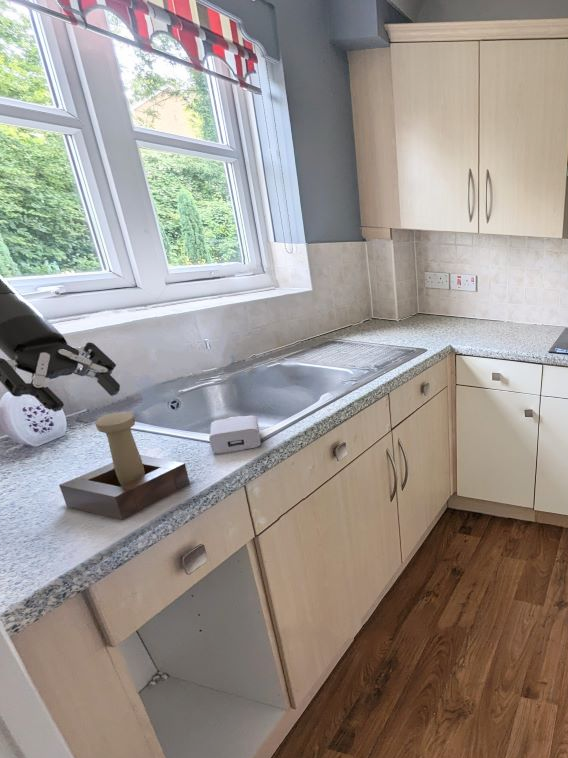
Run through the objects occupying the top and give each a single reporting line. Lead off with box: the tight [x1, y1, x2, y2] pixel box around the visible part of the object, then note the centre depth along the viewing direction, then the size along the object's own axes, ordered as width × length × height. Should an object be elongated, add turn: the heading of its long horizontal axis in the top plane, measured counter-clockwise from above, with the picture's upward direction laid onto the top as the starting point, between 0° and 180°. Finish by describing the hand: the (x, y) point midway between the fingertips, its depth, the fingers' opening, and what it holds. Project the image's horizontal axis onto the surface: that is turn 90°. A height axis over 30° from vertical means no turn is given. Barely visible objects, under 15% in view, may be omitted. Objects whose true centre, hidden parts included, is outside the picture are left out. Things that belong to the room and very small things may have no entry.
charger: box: [209, 415, 262, 454], centre depth 107 cm, size 5×9×15 cm
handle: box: [94, 411, 145, 486], centre depth 82 cm, size 5×6×15 cm
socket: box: [58, 454, 191, 521], centre depth 83 cm, size 12×12×4 cm
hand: (89, 400), depth 78 cm, fingers open, 8 cm apart
